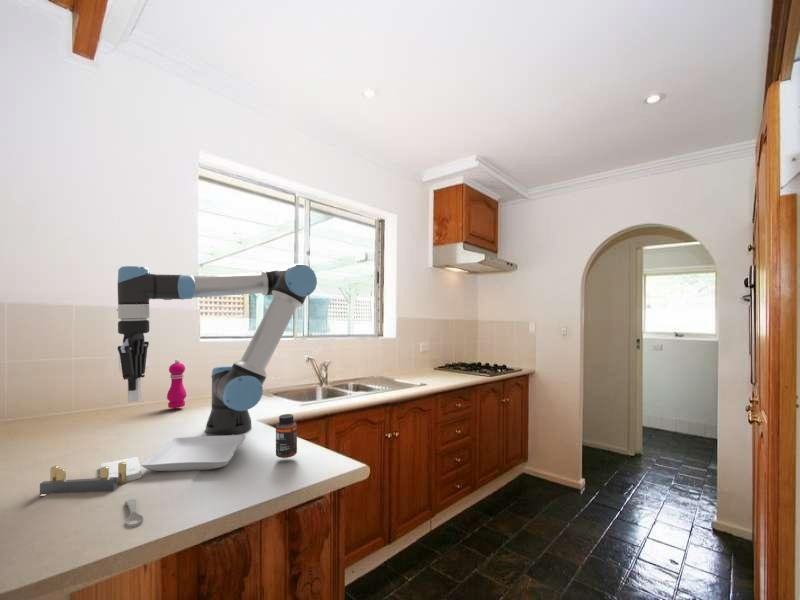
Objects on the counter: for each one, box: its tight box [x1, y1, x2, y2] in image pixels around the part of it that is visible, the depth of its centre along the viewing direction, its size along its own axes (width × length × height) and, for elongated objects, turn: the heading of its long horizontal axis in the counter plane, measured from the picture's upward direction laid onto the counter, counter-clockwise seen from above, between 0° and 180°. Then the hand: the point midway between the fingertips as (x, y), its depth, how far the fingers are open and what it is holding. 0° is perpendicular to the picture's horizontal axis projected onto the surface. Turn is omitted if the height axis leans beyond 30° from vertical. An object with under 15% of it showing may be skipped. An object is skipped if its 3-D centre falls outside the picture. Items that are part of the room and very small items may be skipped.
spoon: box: [124, 497, 144, 528], centre depth 79 cm, size 3×12×2 cm, turn 39°
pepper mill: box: [166, 358, 187, 409], centre depth 165 cm, size 7×7×20 cm
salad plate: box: [141, 434, 247, 472], centre depth 109 cm, size 21×21×3 cm
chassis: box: [39, 462, 127, 496], centre depth 90 cm, size 16×5×5 cm, turn 99°
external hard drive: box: [99, 456, 143, 484], centre depth 99 cm, size 2×8×12 cm
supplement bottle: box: [275, 413, 298, 459], centre depth 112 cm, size 6×6×11 cm
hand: (134, 400), depth 112 cm, fingers closed
